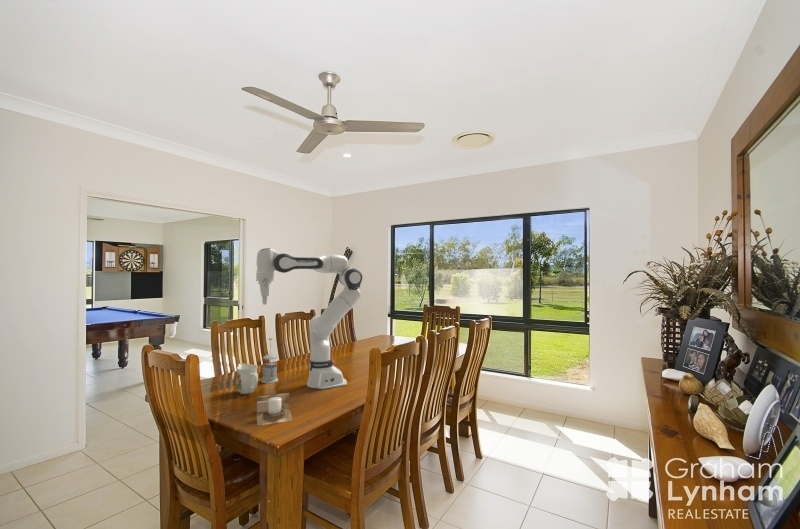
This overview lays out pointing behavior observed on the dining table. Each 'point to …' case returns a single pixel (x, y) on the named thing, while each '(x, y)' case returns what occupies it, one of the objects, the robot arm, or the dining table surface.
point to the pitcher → (246, 378)
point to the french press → (270, 368)
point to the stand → (282, 417)
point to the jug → (270, 406)
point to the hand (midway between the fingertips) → (264, 303)
